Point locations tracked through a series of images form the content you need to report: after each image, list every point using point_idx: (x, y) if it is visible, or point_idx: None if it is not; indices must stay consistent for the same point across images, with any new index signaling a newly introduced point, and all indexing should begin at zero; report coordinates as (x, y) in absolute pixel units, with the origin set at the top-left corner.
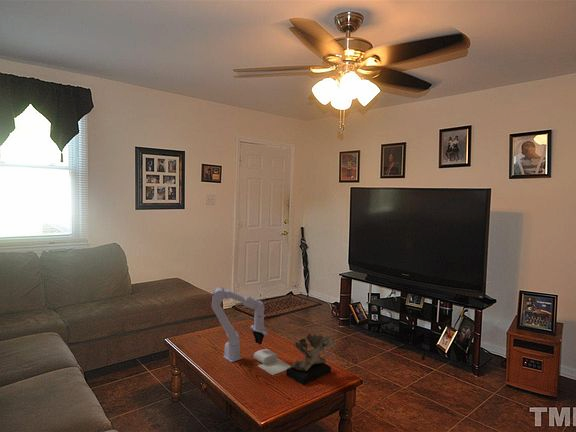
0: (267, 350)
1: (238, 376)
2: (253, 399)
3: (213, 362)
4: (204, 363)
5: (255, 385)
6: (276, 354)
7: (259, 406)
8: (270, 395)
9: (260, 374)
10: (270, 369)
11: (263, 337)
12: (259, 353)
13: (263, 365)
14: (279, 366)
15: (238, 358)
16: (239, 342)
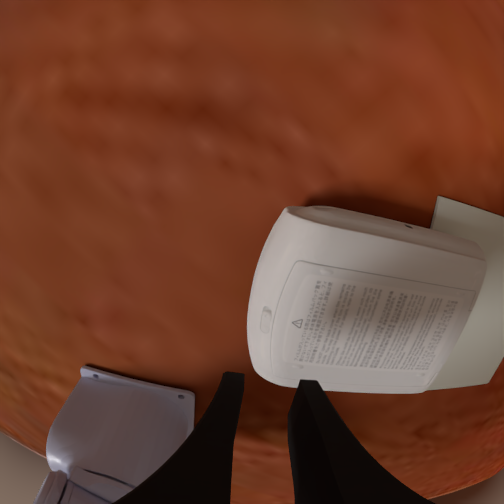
0: (366, 268)
1: None
2: (460, 475)
3: None
4: None
5: (442, 457)
6: (485, 263)
7: (482, 470)
8: (501, 438)
9: (430, 418)
10: (464, 361)
11: (378, 465)
12: (334, 374)
13: None
14: (498, 295)
15: (185, 415)
16: (127, 491)
